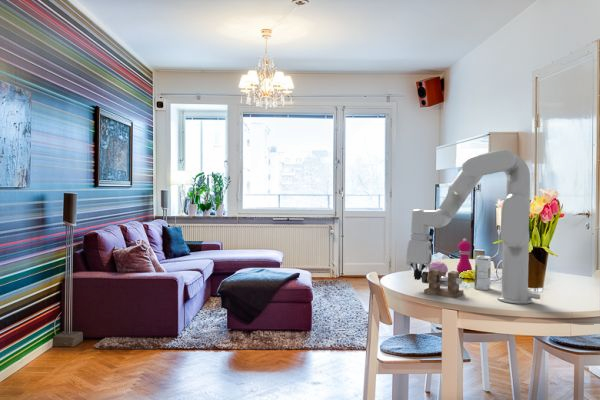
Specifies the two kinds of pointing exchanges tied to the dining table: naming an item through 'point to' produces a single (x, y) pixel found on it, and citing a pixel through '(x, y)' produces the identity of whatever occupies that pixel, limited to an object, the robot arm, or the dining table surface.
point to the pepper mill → (464, 256)
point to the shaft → (438, 279)
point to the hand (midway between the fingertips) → (417, 279)
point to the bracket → (436, 290)
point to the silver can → (482, 272)
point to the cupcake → (439, 268)
